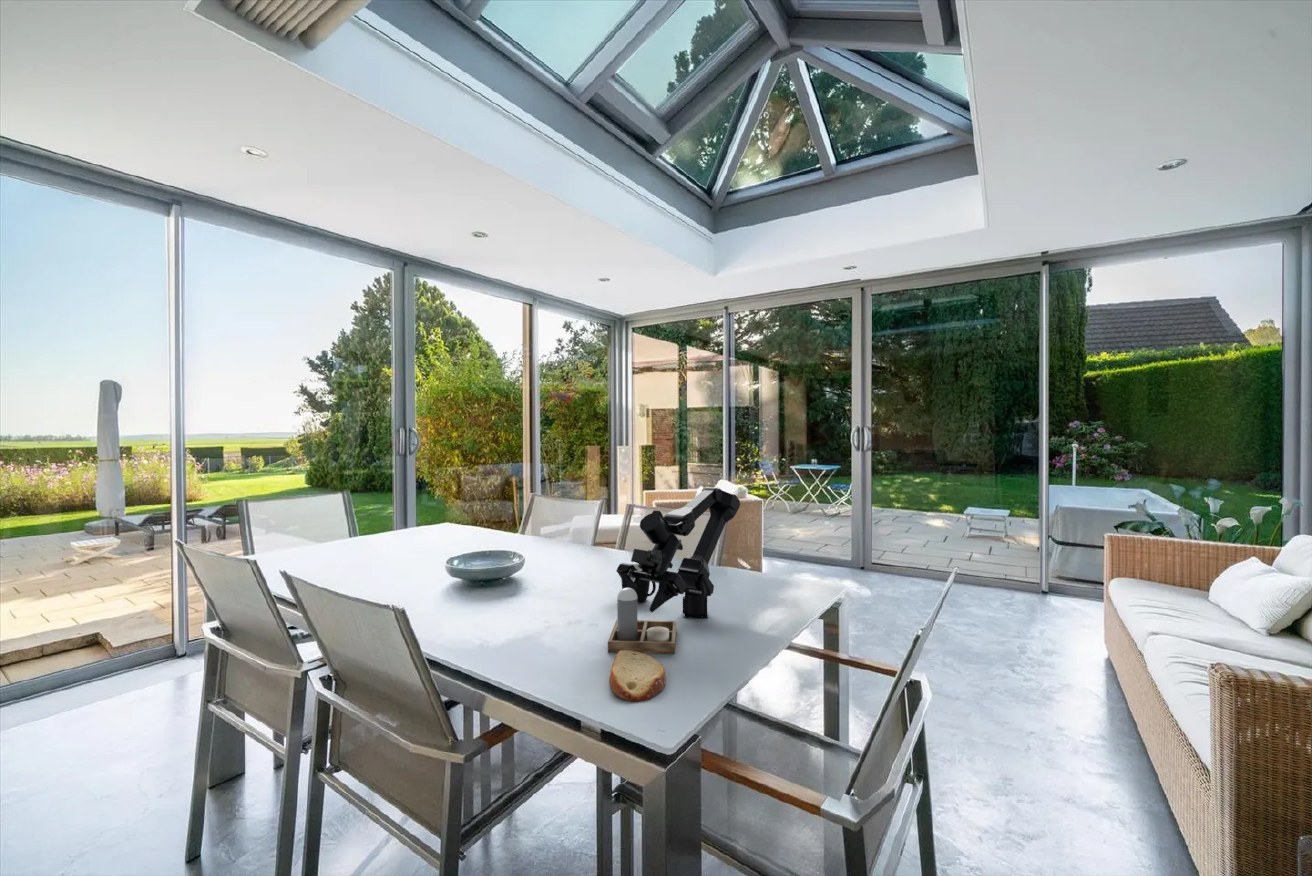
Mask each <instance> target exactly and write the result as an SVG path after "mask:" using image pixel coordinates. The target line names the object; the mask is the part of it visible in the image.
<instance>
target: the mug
mask: <svg viewBox="0 0 1312 876" xmlns="http://www.w3.org/2000/svg"><path fill="white" fill-rule="evenodd" d="M631 565H634V567H635V568H636V569H637V570H638V571H641V572H642V569H640V568H639V567H638V565H639V564H638V563H632V564H631ZM620 578H621V577H620ZM620 580H621V582H622V578H621V579H620ZM650 582H651V581H646V580H641V579H640V581H639V583H637V584H636V585H637V588H636V589H635V592H636V593H637V604H641V603H645V602H646V601H647V599H648V597H651V596H652V595H653V594H654V593H655V592H656V588H657V583H656V582H651V583H652V590H651V592H649V589H650Z"/></svg>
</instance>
